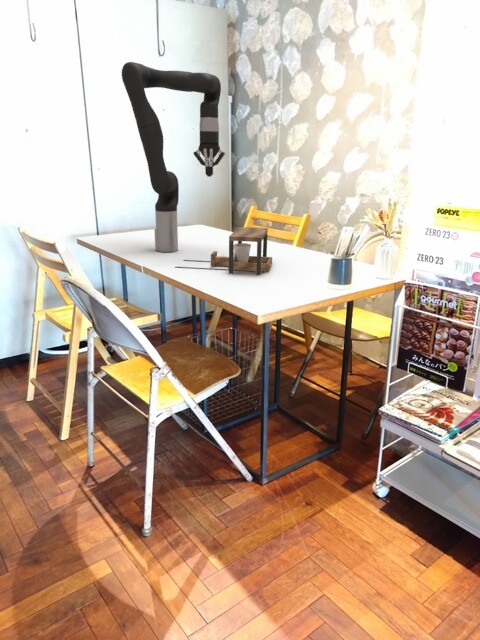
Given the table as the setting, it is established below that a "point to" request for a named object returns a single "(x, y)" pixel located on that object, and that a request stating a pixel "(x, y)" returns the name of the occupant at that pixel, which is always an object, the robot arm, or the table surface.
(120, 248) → the table surface
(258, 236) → the small wooden stool
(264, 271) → the rails
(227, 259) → the tray
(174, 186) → the robot arm
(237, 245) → the cup
